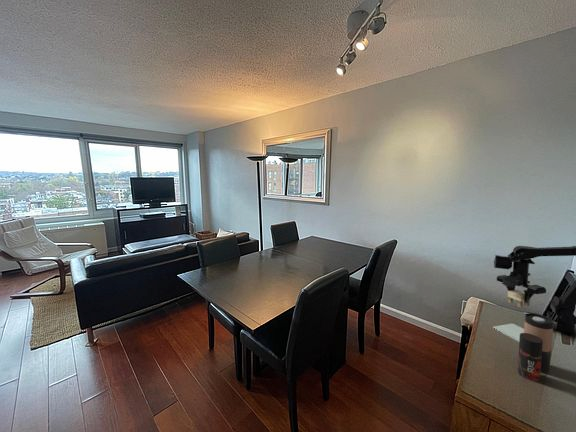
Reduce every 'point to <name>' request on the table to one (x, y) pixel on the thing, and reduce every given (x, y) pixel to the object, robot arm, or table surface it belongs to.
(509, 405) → the table surface
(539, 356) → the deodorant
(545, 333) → the travel mug
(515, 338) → the board
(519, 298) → the tan box with tabs
